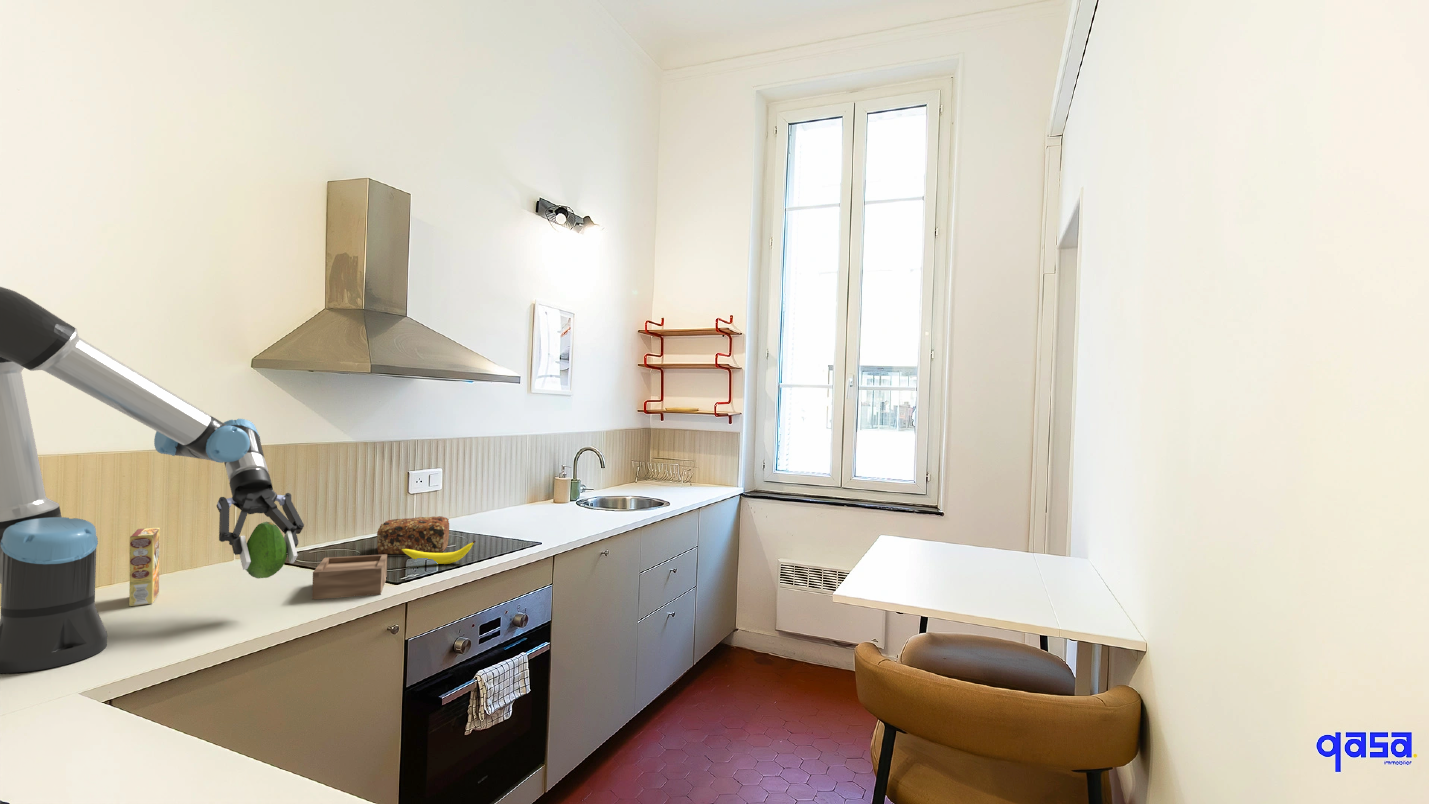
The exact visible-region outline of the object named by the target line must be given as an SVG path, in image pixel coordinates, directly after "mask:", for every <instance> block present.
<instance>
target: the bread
mask: <svg viewBox="0 0 1429 804" xmlns="http://www.w3.org/2000/svg"><path fill="white" fill-rule="evenodd" d="M449 538H450V521H449V518H448V517H444V516H425V517H424V516H418V517H412V518H410V517H409V518H394V519H388V520H386V521H385V522H383V523H381V524H380V526H379V528H377V532H376V541H377V543H376V546H377V547H376V549H377V553H378V554H377V555H384V554H387V555H406V554H405V553H404V552H403V551H402V550H401V549H410V550H416V551H421V552H428V553H444V552H445V550H446V549H447V547H448V544H449Z"/></svg>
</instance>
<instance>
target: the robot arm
mask: <svg viewBox="0 0 1429 804" xmlns="http://www.w3.org/2000/svg"><path fill="white" fill-rule="evenodd" d="M24 369H27V370H29V371H31V372H33V371H44V372H45V373H47V374H49V375H51V376H53V377H55V378H57V379H59V380H60V381H62V382H65V383H66V384H68V385H69V386H72V387H73V388H75V389H77V390H79V391H81V392H83V393H85V394H86V395H88V396H90V397H92V398H94V399H96V400H98V401H99V402H101V403H103V404H105V405H107V406H109V407H111V408H113V409H115V410H117V411H118V412H119V413H120V412H121V413H122V414H124V415H126V416H128V417H129V418H132V419H133V420H135V421H137V422H139V423H141V424H143V425H145V426H147V427H148V428H150V429H152V430H154V431H156V432H155V434H154V441H153V442H154V448H155V450H156V452H157V453H159V454H163V455H168V456H173V457H175V456H178V457H186V458H187V457H188V458H193V459H201V460H207V461H212V462H215V463H220V464H221V463H224V466H225V471H226V475H227V479H228V482H229V483H228V484H229V487H230V492H231V495H232V496H231V497H228V498H226V497H225V496H220V497H219V499H218V501H217V504H216V508H217V510H218V512H219V525H218V526H219V527H218V531H219V532H218V534H219V535H218V541H219V542H221V543H223V542H228V543H229V545H230V546H231V548H232V552H233V554H234V555H235V556H238V555H239V558H240V563H241V567H242V570H243V571H244V570H245V569H248V567H249V565H250V562H251V560H250V556H249V551H248V547H247V540H246V535H241V534H242V533H241V532H242V530H243V527H244V525H245V521H246V519H247V516H248V515H255V514H264V515H265V516H266V517H268V518H269V519H270V520H271V521H272V523H273V524H274V525H276V526H277V527H278V528H279V530H280V531H282V534H283V533H284V536H283V537H284V540H285V543H286V546H287V557H288V562H289V564H294V563H295V561H296V559H297V558H298V556H299V555H298V551H297V547H298V545H299V539H298V534H299V535H300V534H301V533H302V531H303V529H304V527H305V524H304V522H303V521H302V520H303V519H301V516H300V514H299V513H298V511H297V509H296V507H295V505H294V503H293V501H292V494H291V493H290V492H286V493H285V494H283V495H281V494H277V492H275V490H274V489H273V483H272V480H271V475H270V473H269V469H268V465H267V462H266V459H265V454H264V451H263V447H262V443H261V436H260V434H259V432H258V430H257V427H256V425H255V424H254V423H253V422H252V421H250V420H248V419H245V418H237V419H228V420H226V421H224V422H222V421H221V420H219V419H218V418H216V417H214V416H212V415H210V414H209V413H207V412H206V411H204V410H202V409H200V408H199V407H197V406H196V405H194V404H192V403H190V402H189V401H187V400H185V399H184V398H182V397H180V396H178V395H177V394H175V393H173V392H172V391H171V390H168V389H167V388H166V387H163V386H162V385H160V384H159V383H157V382H155V381H154V380H152V379H150V378H148V377H146V375H143V374H141V373H140V372H138V371H137V370H135V369H133V368H132V367H129V366H128V365H126V364H125V363H124V362H121V361H120V360H118V359H116V358H115V357H113V356H112V355H109V354H108V353H106V352H104V351H103V350H102V349H100V348H98V347H96V346H94V345H93V344H92V343H89V342H87V341H86V340H84V339H83V338H81V337H80V336H79V333H78V329H77V328H76V327H75V326H73V325H71V324H69V323H68V322H66V321H65V320H63V319H62V318H60V317H59V316H57V315H55V314H54V313H52V312H50V311H49V310H48V309H46V308H44V307H43V306H41V305H40V304H39V303H36V302H35V301H33V300H32V299H30V298H28V297H27V296H25V295H24V294H22V293H19V292H17V291H15V290H13V289H10V288H6V287H3V286H0V586H1V590H0V674H12V673H13V674H16V673H28V672H34V671H40V670H46V669H51V668H57V667H60V666H64V665H68V664H72V663H75V662H78V661H82V660H86V659H88V658H90V657H93V656H95V655H97V654H99V653H100V652H102V651H104V650H105V649H107V646H108V633H107V630H106V627H105V625H104V622H103V621H102V618H101V616H100V614H99V612H98V609H97V607H96V578H97V577H96V574H97V573H96V571H97V570H96V569H97V547H98V544H99V543H98V542H99V541H98V536H97V528H96V526H95V525H94V524H93V523H92V522H90V521H88V520H86V519H82V518H77V517H75V518H74V517H73V518H70V517H67V516H65V517H64V516H62V512H61V508H60V503H59V502H56V501H54V500H52V499H50V498H48V497H47V495H46V491H45V485H44V480H43V475H42V471H41V464H40V460H39V454H38V450H37V446H36V441H35V440H36V439H35V435H34V431H33V425H32V420H31V414H30V410H29V404H28V400H27V394H26V389H25V385H24V379H23V374H22V371H23V370H24ZM276 501H277V502H278V503H279V506H281V508H282V510H283V512H282V511H281V510H280V509H279V508H278V505H277V504H276ZM232 505H233V506H234V507H236V508H238V510H240V513H239V515H238V518H237V520H236V523H235V526H234V529H233V531H232V532H231V531H230V508H231V506H232ZM245 571H246V570H245Z"/></svg>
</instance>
